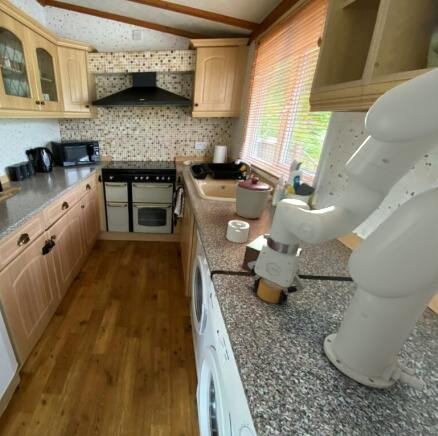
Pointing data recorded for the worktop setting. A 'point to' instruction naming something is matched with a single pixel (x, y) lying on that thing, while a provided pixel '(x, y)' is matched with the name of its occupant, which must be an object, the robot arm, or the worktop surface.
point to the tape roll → (269, 291)
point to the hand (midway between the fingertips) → (268, 294)
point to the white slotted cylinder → (237, 231)
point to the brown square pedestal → (255, 251)
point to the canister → (252, 198)
